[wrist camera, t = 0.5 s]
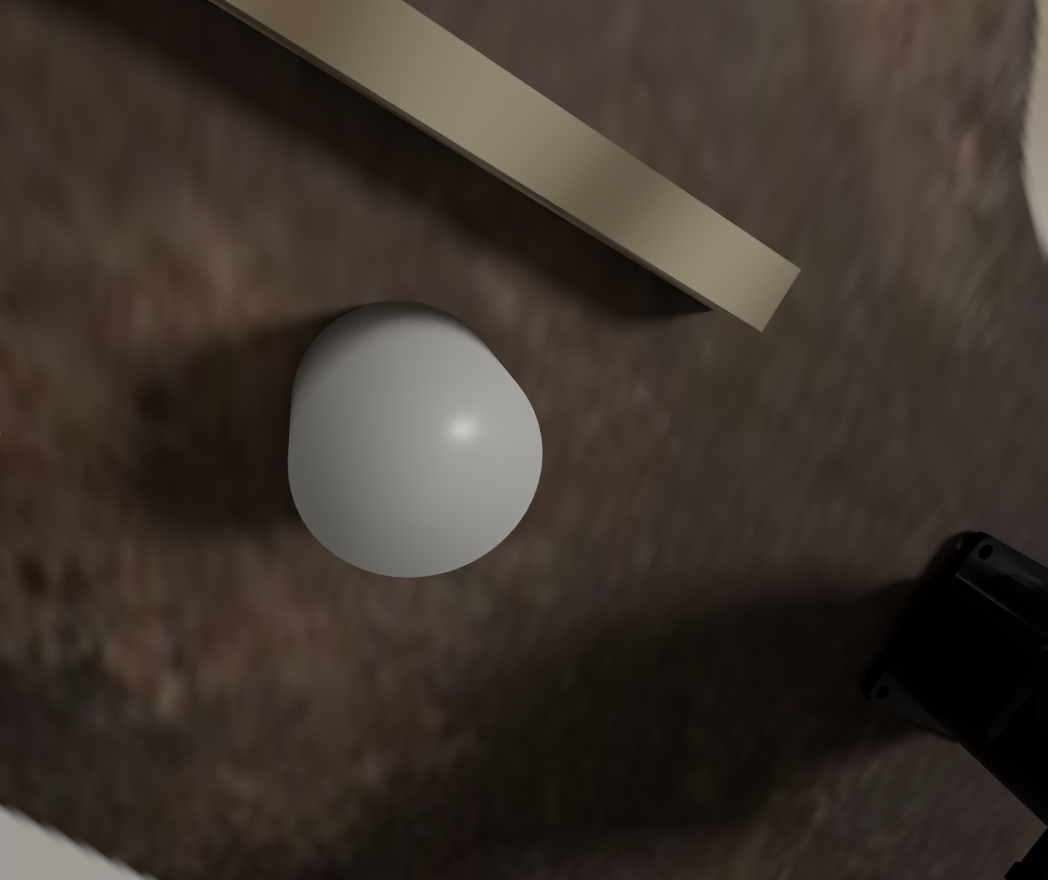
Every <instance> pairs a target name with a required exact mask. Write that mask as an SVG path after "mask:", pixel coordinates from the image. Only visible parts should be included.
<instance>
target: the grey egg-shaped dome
mask: <svg viewBox="0 0 1048 880" xmlns="http://www.w3.org/2000/svg"><path fill="white" fill-rule="evenodd" d="M541 465H542V439H541V434H540V429H539V425H538V422H537V419H536V416H535V413H534V410H533V408H532V406H531V404H530V402H529V401H528V399H527V397H526V395H525V394H524V393H523V391H522V390H521V388H520V387H519V385H518V384H517V383H516V382H515V381H514V379H513V378H512V377H511V376H510V374H509V373H508V372H507V371H506V370H505V368H504V367H503V366H502V365H501V363H500V362H499V361H498V360H497V359H496V357H495V356H494V355H493V354H492V352H491V351H490V350H489V349H488V348H487V346H486V345H485V344H484V343H483V341H482V340H481V339H480V338H479V337H478V336H477V335H476V334H475V332H474V331H473V330H472V329H471V328H470V327H468V326H467V325H466V324H465V323H464V322H462V321H461V320H460V319H458V318H457V317H455V316H453V315H452V314H450V313H448V312H446V311H444V310H442V309H439V308H437V307H434V306H431V305H427V304H424V303H419V302H413V301H395V300H394V301H385V302H378V303H374V304H369V305H365V306H363V307H360V308H358V309H355V310H352V311H350V312H349V313H347V314H345V315H343V316H341V317H339V318H338V319H337V320H335V321H334V322H333V323H331V324H330V325H328V326H327V327H326V328H325V329H324V330H323V331H322V332H321V333H320V334H319V335H318V336H317V337H316V338H315V340H314V341H313V342H312V343H311V345H310V346H309V347H308V349H307V351H306V352H305V354H304V356H303V357H302V359H301V362H300V364H299V366H298V369H297V371H296V375H295V379H294V382H293V388H292V397H291V414H290V432H289V449H288V478H289V483H290V489H291V493H292V496H293V499H294V502H295V505H296V508H297V510H298V512H299V514H300V516H301V518H302V520H303V522H304V523H305V524H306V526H307V527H308V529H309V530H310V531H311V533H312V534H313V535H314V536H315V537H316V538H317V539H318V541H319V542H320V543H321V544H322V545H323V546H325V547H326V548H327V549H328V550H329V551H331V552H332V553H333V554H334V555H336V556H338V557H339V558H341V559H342V560H344V561H346V562H347V563H349V564H352V565H354V566H356V567H358V568H361V569H363V570H366V571H370V572H373V573H376V574H381V575H387V576H393V577H424V576H430V575H436V574H441V573H444V572H448V571H451V570H454V569H457V568H459V567H462V566H464V565H467V564H469V563H471V562H473V561H474V560H476V559H478V558H480V557H482V556H483V555H485V554H486V553H488V552H489V551H490V550H492V549H493V548H494V547H496V546H497V545H498V544H499V543H500V542H501V541H502V540H504V539H505V538H506V537H507V536H508V535H509V534H510V532H511V531H512V530H513V529H514V528H515V527H516V526H517V524H518V523H519V521H520V520H521V518H522V517H523V515H524V514H525V513H526V511H527V509H528V507H529V505H530V503H531V501H532V499H533V496H534V494H535V491H536V488H537V485H538V482H539V477H540V473H541Z"/></svg>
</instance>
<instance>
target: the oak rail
mask: <svg viewBox="0 0 1048 880" xmlns="http://www.w3.org/2000/svg"><path fill="white" fill-rule="evenodd" d="M209 1H210V2H212V3H213V4H215V5H217V6H218V7H220V8H222V9H223V10H225V11H226V12H228V13H230V14H231V15H233V16H235V17H236V18H238V19H239V20H241V21H243V22H244V23H246V24H248V25H249V26H251V27H253V28H254V29H256V30H257V31H259V32H261V33H262V34H264V35H266V36H267V37H269V38H270V39H272V40H274V41H275V42H277V43H279V44H280V45H282V46H284V47H285V48H287V49H288V50H290V51H292V52H293V53H295V54H297V55H298V56H300V57H301V58H303V59H305V60H306V61H308V62H310V63H311V64H313V65H314V66H316V67H318V68H319V69H321V70H323V71H324V72H326V73H328V74H329V75H331V76H332V77H334V78H336V79H337V80H339V81H341V82H342V83H344V84H345V85H347V86H349V87H350V88H352V89H354V90H355V91H357V92H359V93H360V94H362V95H363V96H365V97H367V98H368V99H370V100H372V101H373V102H375V103H376V104H378V105H380V106H381V107H383V108H385V109H386V110H388V111H390V112H391V113H393V114H394V115H396V116H398V117H399V118H401V119H403V120H404V121H406V122H407V123H409V124H411V125H412V126H414V127H416V128H417V129H419V130H420V131H422V132H424V133H425V134H427V135H429V136H430V137H432V138H434V139H435V140H437V141H438V142H440V143H442V144H443V145H445V146H447V147H448V148H450V149H451V150H453V151H455V152H456V153H458V154H460V155H461V156H463V157H465V158H466V159H468V160H469V161H471V162H473V163H474V164H476V165H478V166H479V167H481V168H482V169H484V170H486V171H487V172H489V173H491V174H492V175H494V176H495V177H497V178H499V179H500V180H502V181H504V182H505V183H507V184H509V185H510V186H512V187H513V188H515V189H517V190H518V191H520V192H522V193H523V194H525V195H526V196H528V197H530V198H531V199H533V200H535V201H536V202H538V203H540V204H541V205H543V206H544V207H546V208H548V209H549V210H551V211H553V212H554V213H556V214H557V215H559V216H561V217H562V218H564V219H566V220H567V221H569V222H571V223H572V224H574V225H575V226H577V227H579V228H580V229H582V230H584V231H585V232H587V233H588V234H590V235H592V236H593V237H595V238H597V239H598V240H600V241H601V242H603V243H605V244H606V245H608V246H610V247H611V248H613V249H615V250H616V251H618V252H619V253H621V254H623V255H624V256H626V257H628V258H629V259H631V260H632V261H634V262H636V263H637V264H639V265H641V266H642V267H644V268H646V269H647V270H649V271H650V272H652V273H654V274H655V275H657V276H659V277H660V278H662V279H663V280H665V281H667V282H668V283H670V284H672V285H673V286H675V287H676V288H678V289H680V290H681V291H683V292H685V293H686V294H688V295H690V296H691V297H693V298H694V299H696V300H698V301H699V302H701V303H703V304H704V305H706V306H707V307H709V308H711V309H712V310H714V311H716V312H718V313H721V314H723V315H725V316H727V317H730V318H732V319H734V320H736V321H738V322H741V323H743V324H745V325H747V326H749V327H752V328H754V329H756V330H758V331H761V332H762V331H763V329H764V328H765V326H766V324H767V323H768V321H769V320H770V318H771V316H772V315H773V313H774V312H775V310H776V308H777V307H778V305H779V304H780V302H781V301H782V299H783V297H784V296H785V294H786V293H787V291H788V289H789V288H790V286H791V285H792V283H793V281H794V280H795V278H796V277H797V275H798V273H799V272H800V270H801V269H799V268H798V267H796V266H795V265H793V264H792V263H790V262H789V261H788V260H786V259H785V258H783V257H782V256H780V255H779V254H777V253H776V252H774V251H773V250H771V249H770V248H768V247H767V246H765V245H764V244H762V243H761V242H759V241H758V240H756V239H755V238H753V237H752V236H750V235H749V234H747V233H746V232H745V231H743V230H742V229H740V228H739V227H737V226H736V225H734V224H733V223H731V222H730V221H728V220H727V219H725V218H724V217H722V216H721V215H719V214H718V213H716V212H715V211H713V210H712V209H710V208H709V207H707V206H706V205H704V204H703V203H702V202H700V201H699V200H697V199H696V198H694V197H693V196H691V195H690V194H688V193H687V192H685V191H684V190H682V189H681V188H679V187H678V186H676V185H675V184H673V183H672V182H670V181H669V180H667V179H666V178H664V177H663V176H662V175H660V174H659V173H657V172H656V171H654V170H653V169H651V168H650V167H648V166H647V165H645V164H644V163H642V162H641V161H639V160H638V159H636V158H635V157H633V156H632V155H630V154H629V153H627V152H626V151H624V150H623V149H621V148H620V147H619V146H617V145H616V144H614V143H613V142H611V141H610V140H608V139H607V138H605V137H604V136H602V135H601V134H599V133H598V132H596V131H595V130H593V129H592V128H590V127H589V126H587V125H586V124H584V123H583V122H581V121H580V120H578V119H577V118H576V117H574V116H573V115H571V114H570V113H568V112H567V111H565V110H564V109H562V108H561V107H559V106H558V105H556V104H555V103H553V102H552V101H550V100H549V99H547V98H546V97H544V96H543V95H541V94H540V93H538V92H537V91H535V90H534V89H533V88H531V87H530V86H528V85H527V84H525V83H524V82H522V81H521V80H519V79H518V78H516V77H515V76H513V75H512V74H510V73H509V72H507V71H506V70H504V69H503V68H501V67H500V66H498V65H497V64H495V63H494V62H493V61H491V60H490V59H488V58H487V57H485V56H484V55H482V54H481V53H479V52H478V51H476V50H475V49H473V48H472V47H470V46H469V45H467V44H466V43H464V42H463V41H461V40H460V39H458V38H457V37H455V36H454V35H452V34H451V33H450V32H448V31H447V30H445V29H444V28H442V27H441V26H439V25H438V24H436V23H435V22H433V21H432V20H430V19H429V18H427V17H426V16H424V15H423V14H421V13H420V12H418V11H417V10H415V9H414V8H412V7H411V6H409V5H408V4H407V3H405V2H404V1H402V0H209Z"/></svg>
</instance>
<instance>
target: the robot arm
mask: <svg viewBox="0 0 1048 880" xmlns="http://www.w3.org/2000/svg"><path fill="white" fill-rule="evenodd" d="M981 548H982V549H981ZM980 549H981V550H980ZM861 691H862V693H863V695H864V696H865V697H866V698H867V699H868V700H869V701H870V702H871V703H872V704H874V705H876V706H878V707H881V708H883V709H885V710H888V711H890V712H893V713H895V714H898V715H900V716H902V717H905V718H907V719H910V720H912V721H915V722H917V723H919V724H922V725H924V726H927V727H929V728H932V729H934V730H937V731H939V732H941V733H944V734H946V735H949V736H951V737H953V738H954V739H955V740H956V741H957V742H959V743H960V744H961V745H962V746H963V747H964V748H965V749H966V750H967V751H968V752H969V753H970V754H971V755H972V756H973V757H974V758H975V759H977V760H978V761H979V762H980V763H981V764H982V765H983V766H984V767H985V768H986V769H987V770H988V771H989V772H990V773H991V774H992V775H993V776H995V777H996V778H997V779H998V780H999V781H1000V782H1001V783H1002V784H1003V785H1004V786H1005V787H1006V788H1007V789H1008V790H1009V791H1010V792H1011V793H1013V794H1014V795H1015V796H1016V797H1017V798H1018V799H1019V800H1020V801H1021V802H1022V803H1023V804H1024V805H1025V806H1026V807H1027V808H1028V809H1029V810H1031V811H1032V812H1033V813H1034V814H1035V815H1036V816H1037V817H1038V818H1039V819H1040V820H1041V821H1042V822H1043V823H1044V824H1045V825H1046V826H1047V827H1048V568H1046V567H1045V566H1043V565H1041V564H1039V563H1038V562H1036V561H1034V560H1032V559H1031V558H1029V557H1027V556H1025V555H1024V554H1022V553H1020V552H1018V551H1017V550H1015V549H1013V548H1011V547H1010V546H1008V545H1006V544H1004V543H1003V542H1001V541H999V540H997V539H996V538H994V537H992V536H990V535H989V534H987V533H984V532H977V533H975V534H973V535H971V536H970V537H969V538H968V539H967V540H966V541H965V543H964V544H963V545H962V547H961V548H960V550H959V551H958V552H957V554H956V555H955V556H954V558H953V559H952V561H951V562H950V563H949V565H948V566H947V567H946V569H945V570H944V572H943V573H942V574H941V576H940V577H939V578H938V580H937V581H936V583H935V584H934V585H933V587H932V588H931V590H930V591H929V592H928V594H927V595H926V596H925V598H924V599H923V601H922V602H921V603H920V605H919V606H918V607H917V609H916V610H915V612H914V613H913V614H912V616H911V617H910V619H909V620H908V621H907V623H906V624H905V625H904V627H903V628H902V630H901V631H900V632H899V634H898V635H897V636H896V638H895V639H894V641H893V642H892V643H891V645H890V646H889V647H888V649H887V650H886V652H885V653H884V654H883V656H882V657H881V659H880V660H879V661H878V663H877V664H876V665H875V667H874V668H873V670H872V671H871V672H870V674H869V675H868V676H867V678H866V679H865V681H864V683H863V685H862V690H861ZM1004 878H1005V879H1006V880H1048V828H1047V829H1046V830H1045V832H1044V833H1043V834H1042V835H1041V837H1040V838H1039V839H1038V841H1037V842H1036V843H1035V844H1034V846H1033V847H1032V848H1031V849H1030V851H1029V852H1028V853H1027V854H1026V856H1025V857H1024V858H1023V860H1022V861H1021V862H1015V863H1014V864H1013V866H1012V867H1011V868H1010V869H1009V871H1008V872H1007V873H1006V874H1005V876H1004Z"/></svg>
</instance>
